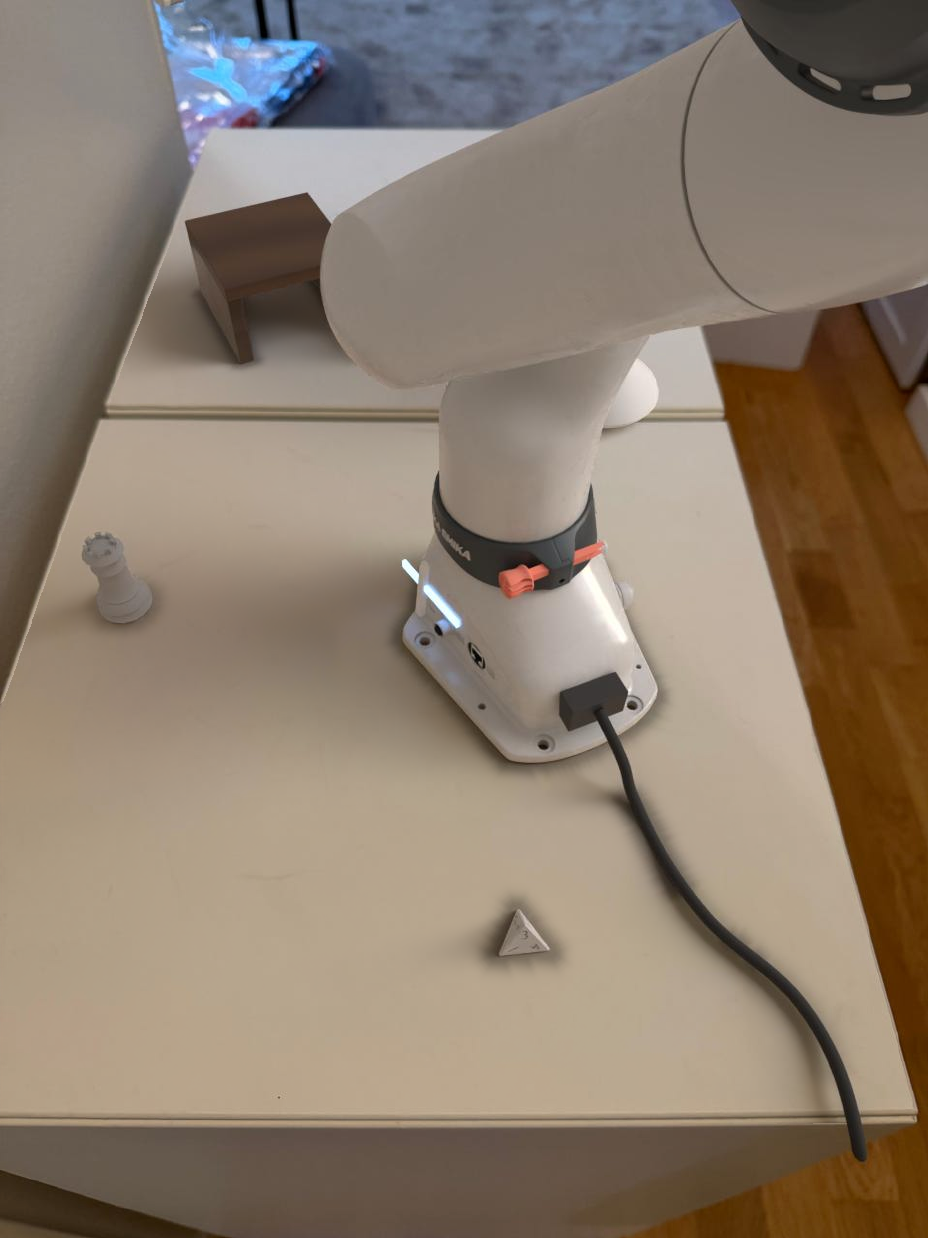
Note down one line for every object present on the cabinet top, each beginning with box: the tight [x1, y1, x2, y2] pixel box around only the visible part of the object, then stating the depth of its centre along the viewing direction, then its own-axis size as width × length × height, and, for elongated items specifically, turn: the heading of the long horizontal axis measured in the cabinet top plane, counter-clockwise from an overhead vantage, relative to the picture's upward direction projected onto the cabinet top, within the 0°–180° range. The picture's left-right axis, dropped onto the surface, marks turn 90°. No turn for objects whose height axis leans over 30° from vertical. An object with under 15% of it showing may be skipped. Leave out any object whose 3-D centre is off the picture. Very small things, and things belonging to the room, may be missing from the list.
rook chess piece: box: [81, 531, 154, 624], centre depth 75 cm, size 4×4×8 cm
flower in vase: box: [603, 357, 659, 429], centre depth 86 cm, size 13×11×25 cm
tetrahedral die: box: [498, 908, 550, 957], centre depth 61 cm, size 4×3×3 cm
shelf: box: [184, 191, 332, 365], centre depth 100 cm, size 14×14×9 cm
